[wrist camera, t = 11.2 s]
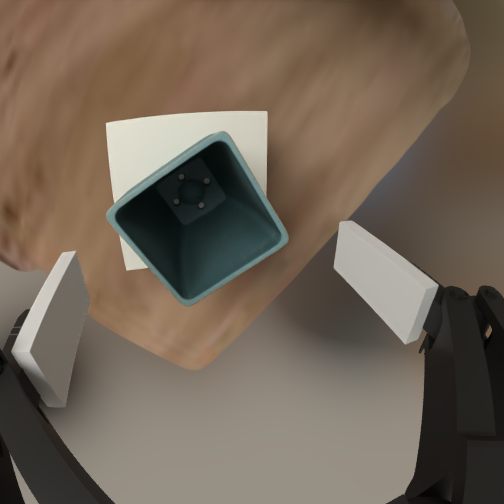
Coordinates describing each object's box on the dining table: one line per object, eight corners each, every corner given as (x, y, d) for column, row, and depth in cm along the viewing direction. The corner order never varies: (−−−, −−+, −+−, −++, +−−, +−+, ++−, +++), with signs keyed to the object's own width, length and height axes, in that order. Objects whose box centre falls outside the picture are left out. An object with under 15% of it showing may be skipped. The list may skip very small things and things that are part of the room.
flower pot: (179, 254, 28) (186, 311, 20) (122, 181, 24) (101, 215, 16) (256, 203, 28) (293, 241, 20) (206, 123, 24) (225, 127, 16)
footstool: (120, 121, 28) (106, 122, 21) (245, 111, 31) (267, 111, 24) (133, 238, 34) (126, 270, 27) (245, 225, 38) (265, 253, 31)
